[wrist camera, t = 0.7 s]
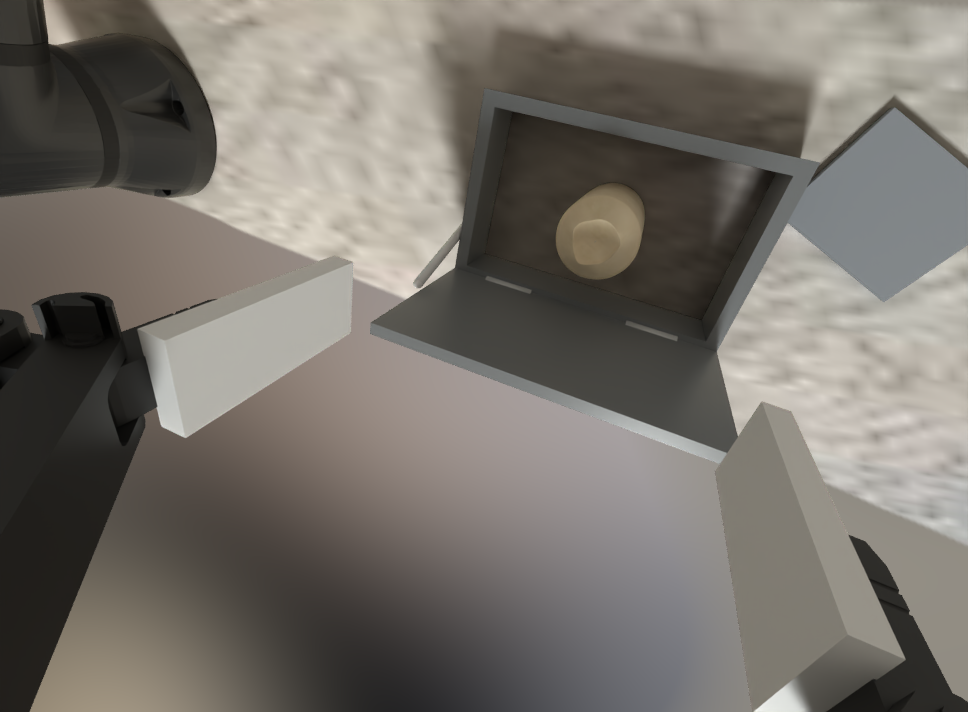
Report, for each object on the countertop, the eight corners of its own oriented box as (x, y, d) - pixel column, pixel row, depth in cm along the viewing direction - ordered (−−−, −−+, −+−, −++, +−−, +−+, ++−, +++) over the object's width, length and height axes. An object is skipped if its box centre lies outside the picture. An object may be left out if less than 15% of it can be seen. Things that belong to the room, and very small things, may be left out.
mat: (775, 212, 32) (777, 213, 31) (890, 107, 27) (895, 107, 27) (880, 299, 32) (883, 302, 31) (1011, 209, 27) (1018, 210, 27)
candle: (608, 264, 37) (592, 302, 29) (562, 219, 37) (533, 244, 29) (660, 216, 34) (660, 242, 26) (611, 166, 34) (595, 177, 26)
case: (465, 263, 42) (359, 332, 27) (495, 90, 35) (372, 60, 20) (705, 339, 37) (733, 472, 23) (800, 159, 30) (932, 183, 15)
